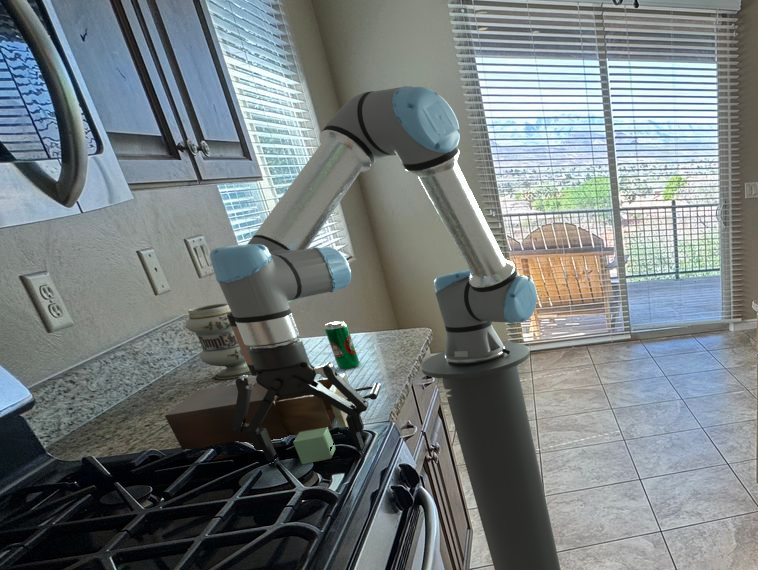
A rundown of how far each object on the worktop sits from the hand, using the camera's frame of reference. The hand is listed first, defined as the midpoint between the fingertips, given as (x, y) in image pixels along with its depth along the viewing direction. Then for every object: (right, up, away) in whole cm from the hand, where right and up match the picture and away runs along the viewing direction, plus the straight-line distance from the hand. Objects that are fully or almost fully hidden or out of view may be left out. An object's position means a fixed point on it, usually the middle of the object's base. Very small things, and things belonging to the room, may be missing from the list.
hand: (318, 455), depth 102 cm
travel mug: (-32, +13, +32) cm, 47 cm away
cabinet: (-19, +3, +8) cm, 21 cm away
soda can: (-27, +21, +49) cm, 60 cm away
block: (0, 0, 0) cm, 0 cm away
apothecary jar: (-57, +20, +49) cm, 78 cm away
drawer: (-6, +6, +12) cm, 15 cm away
